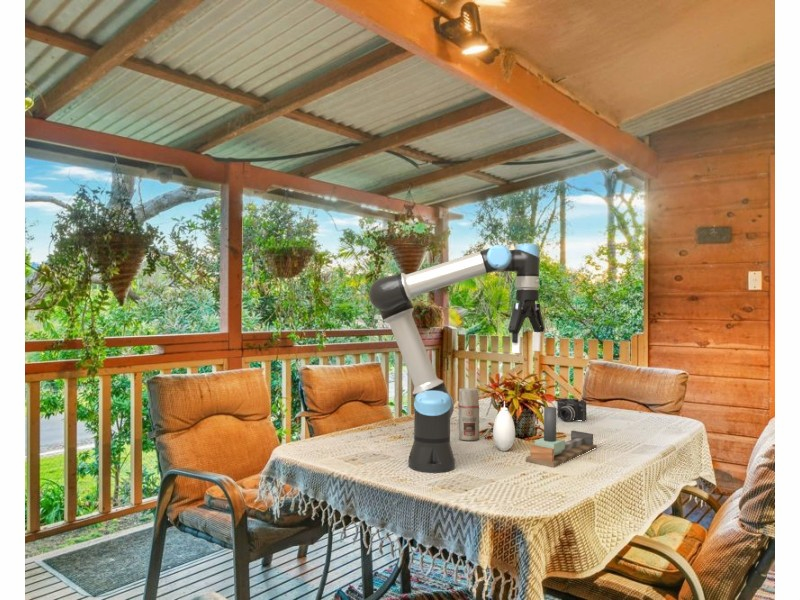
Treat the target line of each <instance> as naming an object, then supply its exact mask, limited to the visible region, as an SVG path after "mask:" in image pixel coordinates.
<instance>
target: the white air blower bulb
mask: <svg viewBox="0 0 800 600" xmlns="http://www.w3.org/2000/svg"><path fill="white" fill-rule="evenodd" d="M515 427H516V426H515V422H514V418H513V416H512V414H511V413H510V411H509V408H508V407H506V401H505V400H504V401H503V407H500V411H499V412H498V413H497V414H496V417H495V419H494V423H493V427H492V438H493V441H494V444H495V446H496V447H497V448H498V449H499V450H500V451H501V452H507V451H509V449H510V448H512V447H513V445H514V443H515V439H516V428H515Z"/></svg>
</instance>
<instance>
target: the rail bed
mask: <svg viewBox="0 0 800 600" xmlns="http://www.w3.org/2000/svg"><path fill="white" fill-rule="evenodd" d="M570 431H571V433H570V440H568V441H565V449H564V450H562V452H561V453H559V454H556V455H554V449H552V448H547V447H542V446H537V445H535V444H530V447H529V455H528V456H526V457H525V462H526V463H531V464H535V465H540V466H544V467H549V468H556V467H558V465H559V466H561V465H563V464H566V463H567V461H568V462H570V461H572V460H574V459H573V458H575V457H577V456H579V455H582V454H584V453H586V452H588V451H590V450H592V449H594V448H597V449H598V447H597V444H595V443H594V433H591V432H584V431H577V430H570ZM588 453H589V452H588ZM586 454H587V453H586ZM584 455H585V454H584ZM582 456H583V455H582ZM579 457H580V456H579ZM577 458H578V457H577ZM571 459H572V460H571ZM575 459H576V458H575ZM569 460H570V461H569ZM562 463H563V464H562ZM560 464H561V465H560Z"/></svg>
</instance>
